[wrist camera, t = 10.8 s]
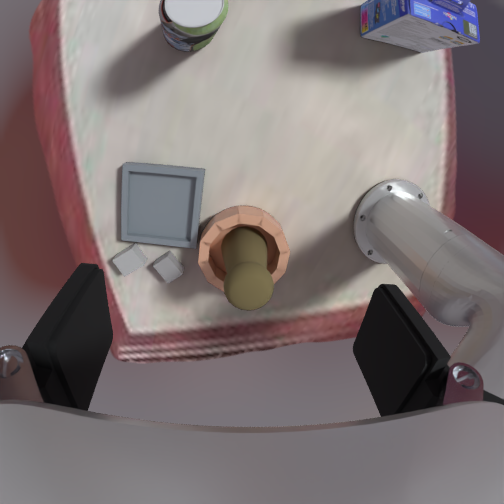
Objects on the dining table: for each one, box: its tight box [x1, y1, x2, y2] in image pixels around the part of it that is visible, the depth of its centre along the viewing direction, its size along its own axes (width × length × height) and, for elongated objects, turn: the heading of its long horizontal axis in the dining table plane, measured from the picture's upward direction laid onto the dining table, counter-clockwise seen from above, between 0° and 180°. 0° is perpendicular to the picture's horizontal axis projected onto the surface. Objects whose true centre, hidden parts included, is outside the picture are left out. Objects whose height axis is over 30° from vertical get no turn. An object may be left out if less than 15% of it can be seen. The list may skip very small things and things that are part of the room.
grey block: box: [153, 251, 184, 283], centre depth 41 cm, size 3×3×2 cm
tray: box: [121, 162, 205, 249], centre depth 38 cm, size 10×10×2 cm
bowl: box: [198, 205, 290, 292], centre depth 40 cm, size 11×11×4 cm
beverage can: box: [159, 0, 228, 51], centre depth 24 cm, size 6×7×12 cm
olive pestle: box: [221, 226, 274, 311], centre depth 36 cm, size 6×6×11 cm
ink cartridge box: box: [361, 0, 480, 53], centre depth 23 cm, size 10×6×14 cm, turn 89°
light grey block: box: [112, 242, 147, 277], centre depth 40 cm, size 4×3×2 cm
